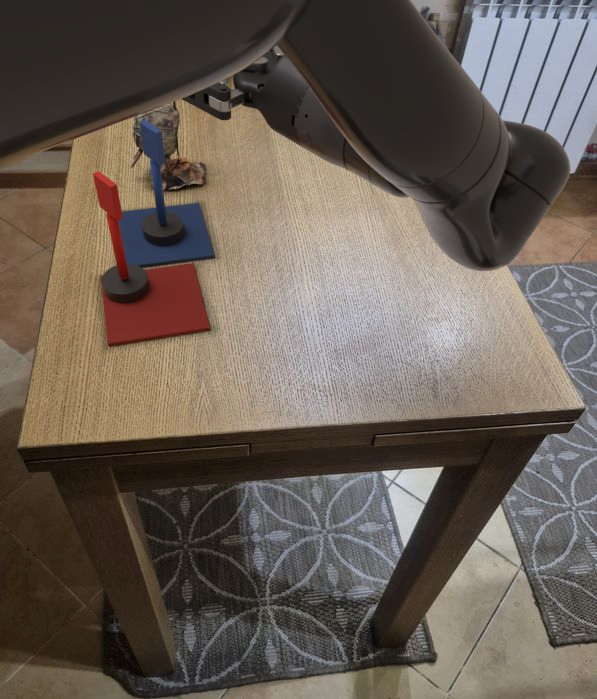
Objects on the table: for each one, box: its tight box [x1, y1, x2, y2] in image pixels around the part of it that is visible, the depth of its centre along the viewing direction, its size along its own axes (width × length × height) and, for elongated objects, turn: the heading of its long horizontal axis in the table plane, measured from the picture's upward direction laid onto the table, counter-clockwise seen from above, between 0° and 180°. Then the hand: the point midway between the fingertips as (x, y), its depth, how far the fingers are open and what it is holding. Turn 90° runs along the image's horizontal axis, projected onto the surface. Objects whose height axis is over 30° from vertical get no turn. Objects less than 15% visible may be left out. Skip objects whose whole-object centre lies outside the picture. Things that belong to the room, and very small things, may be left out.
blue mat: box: [118, 202, 215, 269], centre depth 86 cm, size 12×12×1 cm
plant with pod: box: [129, 101, 208, 191], centre depth 88 cm, size 8×11×20 cm
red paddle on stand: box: [92, 170, 149, 303], centre depth 72 cm, size 6×6×16 cm
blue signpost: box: [139, 120, 184, 246], centre depth 79 cm, size 6×6×16 cm
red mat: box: [99, 262, 211, 347], centre depth 77 cm, size 12×12×1 cm
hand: (205, 43), depth 59 cm, fingers open, 8 cm apart
